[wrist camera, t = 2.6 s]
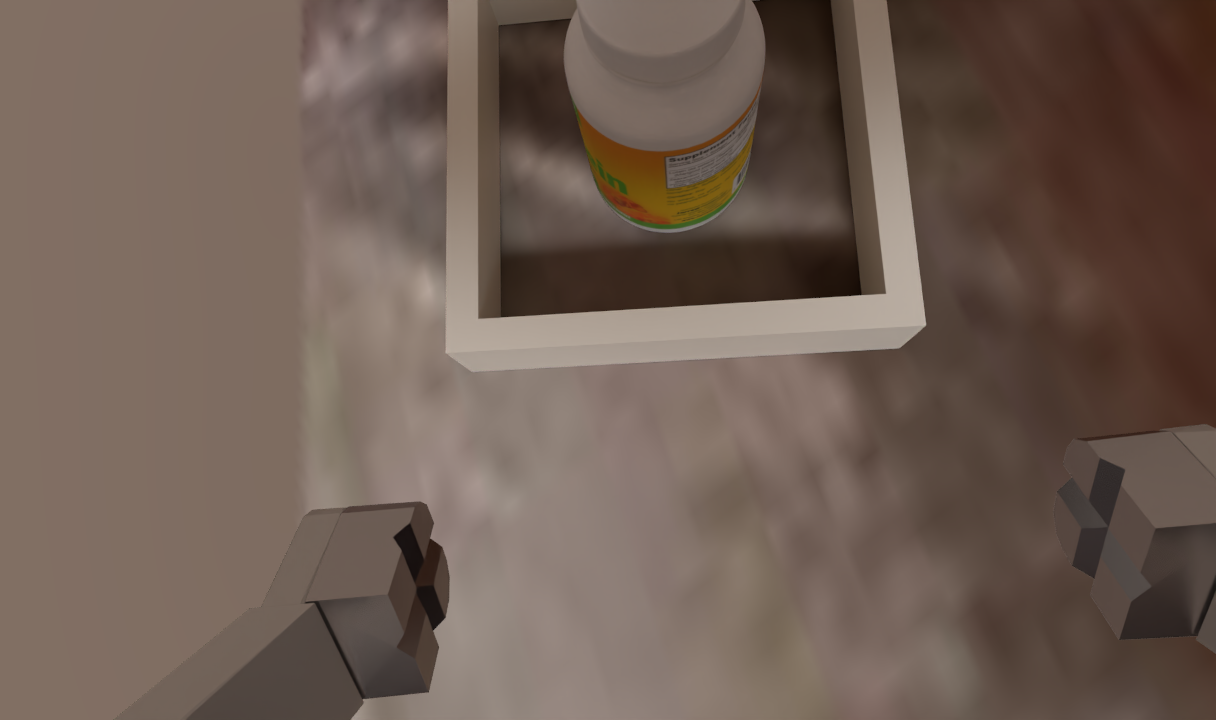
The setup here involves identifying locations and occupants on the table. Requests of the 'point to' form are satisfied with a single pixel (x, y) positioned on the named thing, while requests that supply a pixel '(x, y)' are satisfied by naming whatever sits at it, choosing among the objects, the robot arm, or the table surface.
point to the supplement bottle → (666, 104)
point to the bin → (684, 331)
